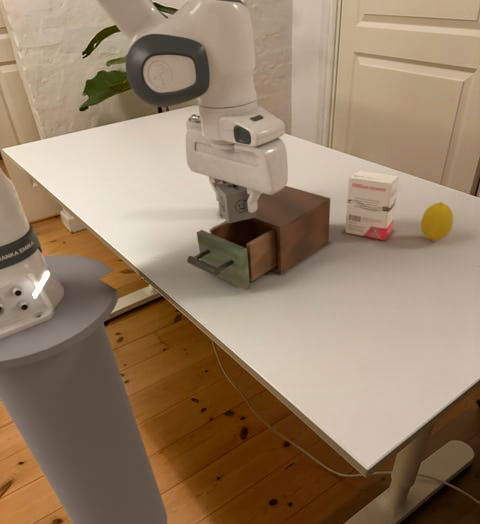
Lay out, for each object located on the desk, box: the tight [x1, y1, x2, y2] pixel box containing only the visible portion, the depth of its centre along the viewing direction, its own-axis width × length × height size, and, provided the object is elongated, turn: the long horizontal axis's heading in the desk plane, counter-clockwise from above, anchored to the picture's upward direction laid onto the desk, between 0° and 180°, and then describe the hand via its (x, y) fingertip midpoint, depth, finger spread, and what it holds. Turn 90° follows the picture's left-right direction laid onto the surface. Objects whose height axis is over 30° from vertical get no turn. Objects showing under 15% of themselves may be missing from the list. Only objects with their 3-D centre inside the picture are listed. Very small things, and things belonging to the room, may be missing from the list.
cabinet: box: [248, 185, 331, 275], centre depth 90 cm, size 15×13×10 cm
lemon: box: [420, 201, 454, 242], centre depth 88 cm, size 6×6×8 cm
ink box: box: [345, 170, 400, 241], centre depth 92 cm, size 8×5×12 cm, turn 57°
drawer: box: [186, 219, 278, 291], centre depth 84 cm, size 18×11×8 cm, turn 135°
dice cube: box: [217, 182, 256, 223], centre depth 78 cm, size 5×5×5 cm
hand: (236, 206), depth 79 cm, fingers closed on dice cube, 5 cm apart
